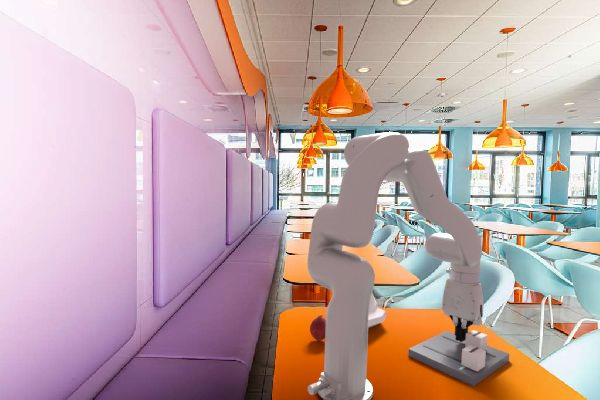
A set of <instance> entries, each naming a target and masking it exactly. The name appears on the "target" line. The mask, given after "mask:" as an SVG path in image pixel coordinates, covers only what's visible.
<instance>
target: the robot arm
mask: <svg viewBox="0 0 600 400" xmlns="http://www.w3.org/2000/svg"><path fill="white" fill-rule="evenodd" d="M343 150H344V151H343V156H344V160H345V162H346V164H347V168H346V169H345V171H344V173H343V177H342V178H341V183H340V188H339V193H338V199H337V202H332V201H331V202H327V203H325V204H323V205H321V206H320V207H319V208H318V209H317V210H316V213H315V214H314V216H313V219H312V221H311V229H310V236H309V237H310V238H309V246H308V253H307V254H308V256H307V271H308V275H309V277H310V279H311V280H312V281H313V282H314V283H316V284H317V285H319V286H321V287H323V288H325V289H327V290H329V291H331V292H332V296H331V299H330V301H329V302H328V304H327V307H326V311H325V312H326V313H325V320H326V331H325V341H324V364H323V365H324V369H323V372H321V373H320V377H319V378H318V380H317V381H316V382H313V383H311V384H310V385H308V386H307V392H308V393H309V395H310V396H314V395H315V394H318V395H319V397H320V398H322V399H323V400H372V398H373V395H374V393H373V392H374V388H373V385H372V383H371V382H370V381H369V380H368V379H367V373H368V372H367V370H368V369H367V367H368V366H367V365H368V345H369V344H368V343H369V341H368V340H369V328H368V318H369V305H370V299H371V295H372V293H373V290H374V288H375V280H376V273H375V271H374V267H373V265H372V264H371V263H370V262H369V261H368V260H367V259H365V258H364V257H362V256H360V255H358V254H356V253H352V252H349V251H345V250H343V246H345V247H348V248H353V249H361V248H364V247H366V246H368V245H369V244H370V242H371V241H372V238H373V235H374V229H375V224H376V223H375V222H376V215H377V207H378V199H379V192H380V189H381V186H382V183H383V181H386V182H396V183H402V184H403V186H404V189H405V191H406V193H407V194H408V198H409V200H410V202H411V204H412V207H413V209H414V211H415V212H416V213H417V214H418V215H419V216H421V217H422V218H424V220H427V221H429V222H431V223H432V224H435V225H436V226H438V227H439V228H441V229H443V230H444V231H445V232H435V233H433V234H431V235H429V236H428V237H427V239H426V241H425V244H424V245H425V246H424V247H425V251H426V253H427V254H428V255H429V257H431V258H432V259H435V260H438V261H441V262H442V261H443V262H445V263H450V267H449V268H447V269H446V270H445V273H446V274H448V276H449V277H448V278H446V281H445V285H444V289H443V292H442V293H443V295H442V301H441V310H442V312H443V314H444V315H445V316H446V317H449V318H450V320H451V321H452V323H453V325H454V333H455V336H456V340H457V341H458V340H459V341H460V342H462V341H464V340H466V333H468V332H469V327H471V326H481V325H482V324H483V316H484V295H483V287H482V283H480V274H481V273H480V272H481V271H480V270H481V259H482V255H483V247H482V237H481V235H479V233H478V230H477V227H476V226H475V224H474V222H473V221H472V219H470V218H469V216H468V215H467V214H466V213H464V211H462V209H460V207H458V205H456V204H455V203H454V202H452V201H451V200H450V199H449V198H448V197H447V193H446V190H445V188H444V185H443V183H442V181H441V180H442V179H441V178H440V175H439V173H438V170H437V168H436V165H435V162H434V160H433V158H432V156H431V154H430V153H429V151H427V150H425V149H423V148H415V147H413V148H412V147H410V144H409V140H408V138H407V137H406V136H405V135H403V134H402V133H400V132H393V131H389V132H387V131H386V132H380V133H373V134H366V135H365V134H364V135H359V136H355V137H353V138H350V140H348V142H347V143H346V145H345V146H344V149H343Z"/></svg>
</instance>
